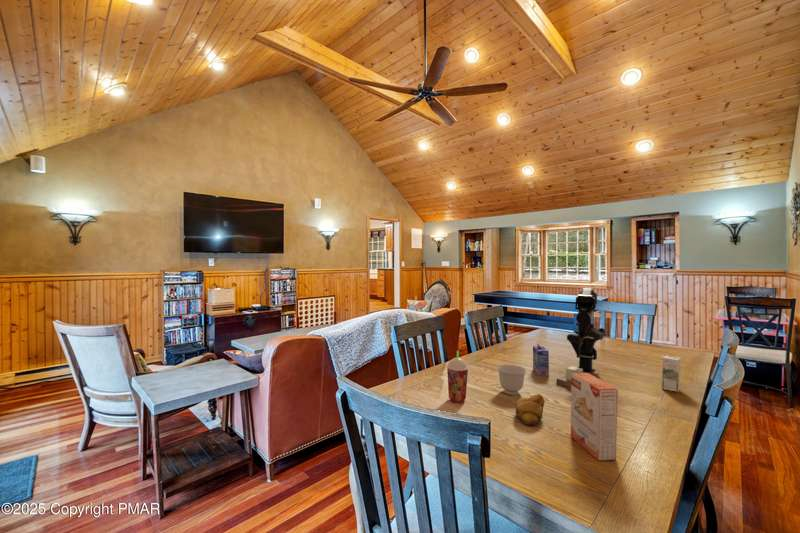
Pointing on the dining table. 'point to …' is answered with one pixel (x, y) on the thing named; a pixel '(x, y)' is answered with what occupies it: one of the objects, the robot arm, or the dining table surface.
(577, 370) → the sage cube
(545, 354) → the ink cartridge box
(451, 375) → the smoothie
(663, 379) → the syrup box
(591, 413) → the cracker box
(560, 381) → the walnut board
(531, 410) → the bread roll
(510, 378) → the teacup
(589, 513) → the dining table surface
